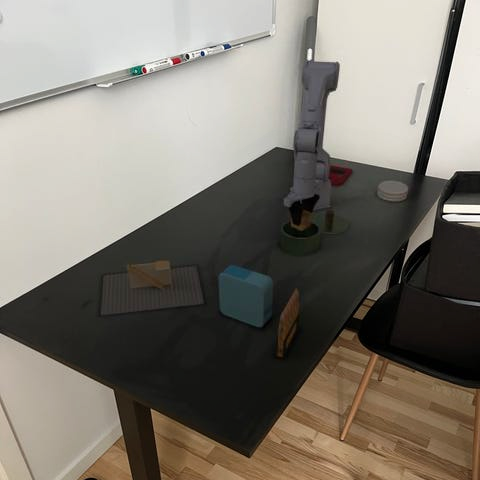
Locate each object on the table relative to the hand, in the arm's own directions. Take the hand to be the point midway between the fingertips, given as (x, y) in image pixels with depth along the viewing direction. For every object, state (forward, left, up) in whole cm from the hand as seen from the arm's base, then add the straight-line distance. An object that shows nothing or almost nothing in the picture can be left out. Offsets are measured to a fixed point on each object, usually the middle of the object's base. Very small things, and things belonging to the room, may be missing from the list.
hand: (301, 221), depth 141 cm
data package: (+26, +26, -8) cm, 38 cm away
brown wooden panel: (+20, +38, -8) cm, 44 cm away
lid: (-13, -7, -7) cm, 16 cm away
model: (+45, +7, -8) cm, 46 cm away
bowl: (0, 0, -8) cm, 8 cm away
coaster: (-43, -19, -8) cm, 48 cm away
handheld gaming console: (-32, -40, -8) cm, 52 cm away
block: (0, 0, -1) cm, 1 cm away
